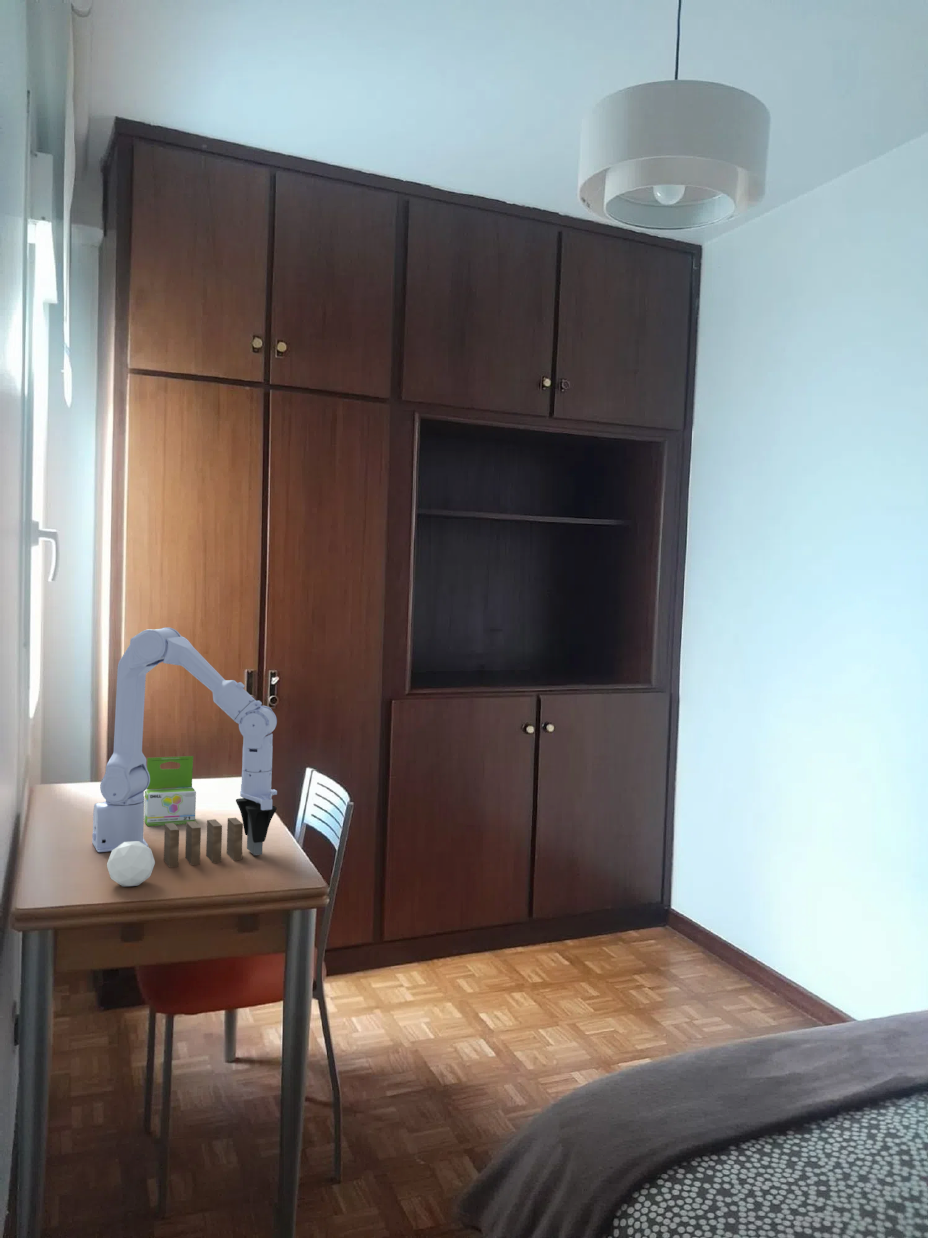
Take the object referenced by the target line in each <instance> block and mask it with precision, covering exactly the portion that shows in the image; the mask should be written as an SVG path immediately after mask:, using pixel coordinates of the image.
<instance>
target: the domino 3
mask: <svg viewBox="0 0 928 1238" xmlns="http://www.w3.org/2000/svg"><path fill="white" fill-rule="evenodd" d="M222 840H223V825H222V824H221V823H220V822H219V821H218V820H217V819H215V818H214V819H207V820H206V844H205V845H206V847H205V848H206V850H205V856H206V857H207V859H209V861H210V862H211V864H212V863H213V864H214V863H221V862H222V843H223V842H222Z"/></svg>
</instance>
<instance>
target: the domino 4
mask: <svg viewBox="0 0 928 1238" xmlns="http://www.w3.org/2000/svg"><path fill="white" fill-rule="evenodd" d="M226 830H227V832H226V833H227V834H226V855H227V856H228V857H229V858H230V859H231V860H232V861H241V860H243V830H244V826H243V822H241V820H239V819H238V818H237V817H229V818H228V817H227V829H226Z"/></svg>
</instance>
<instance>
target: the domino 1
mask: <svg viewBox="0 0 928 1238" xmlns="http://www.w3.org/2000/svg"><path fill="white" fill-rule="evenodd" d="M163 841H164V844H163V845H164V846H163V861H164V862H165V864H166V865H167V866H168V868H177V867H179V855H180V854H179V851H180V849H179V848H180V847H179V846H180V829H179V828H178V826H177V825H175V824H174V823H167V824H165V825H164V840H163Z"/></svg>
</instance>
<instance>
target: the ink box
mask: <svg viewBox="0 0 928 1238" xmlns="http://www.w3.org/2000/svg"><path fill="white" fill-rule="evenodd" d="M168 762H169V763H170V762H172V763H178V764H179V765H180V767H178V768H161V765H162V764H166V763H168ZM146 766H147V770H148V772H149V775H150V783H149V786H148V788H147V789H146V790H145V791H144V824H146V826H147V827H159V826H160V827H161V826H165V824H167V823H174V824H175V825H176V826H177V825H186V822H190V821H195V822H196V808H197V807H196V803H197V801H196V800H197V798H196V797H197V791H196V790H195V788H193V771H194V770H193V769H194V755H186V756H185V755H184V756H182V755H181V756H161V757H146Z"/></svg>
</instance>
